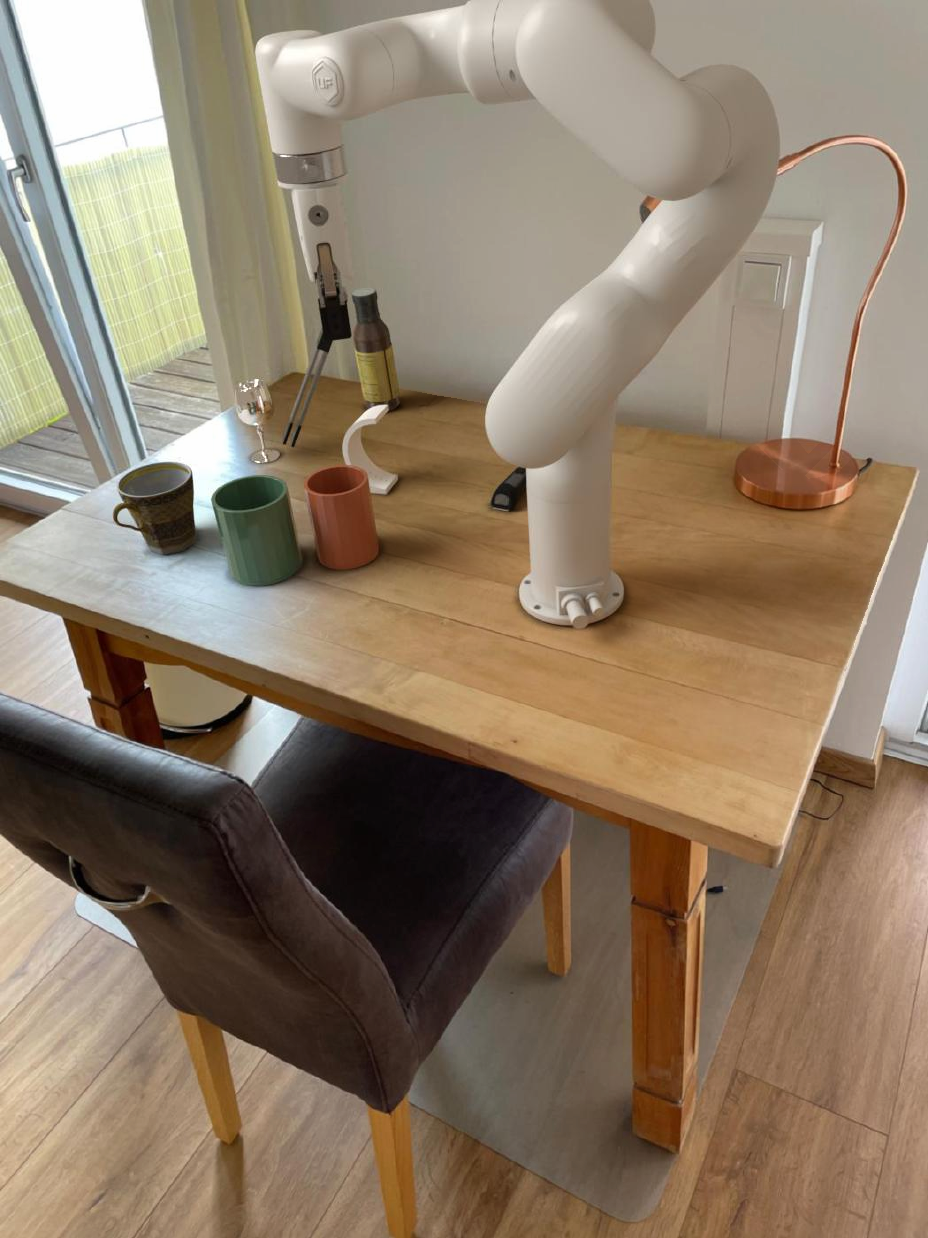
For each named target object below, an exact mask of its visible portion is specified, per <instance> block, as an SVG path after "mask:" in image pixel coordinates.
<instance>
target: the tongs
mask: <svg viewBox="0 0 928 1238" xmlns="http://www.w3.org/2000/svg"><path fill="white" fill-rule="evenodd" d="M342 288H343V295H344V302H345V303H346V302H347V303H348V301H349V300H348V298H349V295H348V289H347V287H345V286H343V285H342ZM333 342H334V341H325V340H324V335H323V329H322V328H321V329H320V331H319V334H318V337H317V340H316V343H315V346H314V349H313V352H312V355H311V356H310V357H311V358H310V360H309V363H308V365H307V369H306V371H305V374H304V377H303V379H302V383H301V386H300V388H299V391H298V393H297V396H296V399H295V402H294V405H293V408H292V410H291V413H290V416H289V418H288V420H287V421H288V422H287V423H286V427H285V430H284V432H283V435H282V445H287V443H288V439H289V438H290V434H291V432H292V429H293V427H294V430H293V433H292V434H291V435H292V436H291V438H290V447H291V448H295V446H296V443H297V441H298V438H299V435H300V432H301V431H302V426H303V423H304V421H305V418H306V415H307V413H308V410H309V407H310V404H311V401H312V398H313V397H314V393H315V390H316V388H317V385H318V382H319V380H320V377H321V374H322V371H323V368H324V366H325V363H326V361H327V358H328V355H329V353H330V351H331V347H332V345H333ZM320 351H322V354H321V356H320V359H319V362H318V364H317V367H316V369H315V373H314V376H313V379H312V381H311V384H310V386H309V389H308V392H307V395H306V398H305V400H304V403H303V406H302V408H301V411H300V414H299V417H298V419H297V422H296V423H295V426H294V422H295V420H296V417H297V414H298V411H299V409H300V406H301V403H302V400H303V397H304V394H305V392H306V390H307V386H308V383H309V381H310V378H311V375H312V372H313V371H314V370H313V369H314V367H315V364H316V362H317V359H318V356H319V353H320Z"/></svg>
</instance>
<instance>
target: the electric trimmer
mask: <svg viewBox="0 0 928 1238" xmlns="http://www.w3.org/2000/svg"><path fill="white" fill-rule="evenodd" d="M526 484H527V481H526V468H521V467H516V468H515V469H514V470H513V471H512V472H511V473H510V474H509V475H508V476H507V477H506V478H505V479H504V480H503V481H502V482H501V483H500V484H499V485H498V486H497V487H496V489H495V490H494V492H493V494H492V497H491V499H490V505H491V507H492V509H493V510H499V511H504V512H509V511H510V510H514V509H515V508H516V506H517V502H518V498H519V497H520V495H521V494H522V493H523V492H524V490H525V489H527V486H526Z"/></svg>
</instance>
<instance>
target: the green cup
mask: <svg viewBox="0 0 928 1238" xmlns="http://www.w3.org/2000/svg"><path fill="white" fill-rule="evenodd" d="M210 501H211V506H212V509H213V513H214V517H215V521H216V525H217V528H218V532H219V537H220V540H221V543H222V547H223V551H224V555H225V558H226V563H227V566H228V570H229V574H230V576H231V578H232V579H233V580H234V581H235V582H236V583H238V584H241V585H244V586H249V587H263V586H269V585H274V584H277V583H281V582H283V581H285V580H287V579H290V578H291V577H292V576H294V575H295V574H296V573H297V572H298V571H299V570H300V569H301V567H302V564H303V553H302V550H301V543H300V540H299V536H298V531H297V525H296V520H295V516H294V512H293V511H294V510H293V507H292V502H291V496H290V492H289V486H288V485H287V482H285V480H283V479H282V478H279V477H277V476H275V475H269V474H253V475H248V476H242V477H238V478H235V479H232V480H230V481H227V482H225V483H224V484H222V485H220V486H219V487H218V488H217V489H216V490H215V491H214V492H213V493H212V495H211V499H210Z"/></svg>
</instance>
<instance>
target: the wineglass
mask: <svg viewBox="0 0 928 1238" xmlns="http://www.w3.org/2000/svg"><path fill="white" fill-rule="evenodd" d="M234 403H235V410H236V413H237V416H238V418H239V420H240V421H242V422H243V424H246V425H248V426H253V427H256V432H257V434H258V436H259V439H260V442H261V448H262V449H261V450H259V451H257V452H255V453H254V454H252V457H251V460H252V461H253V462H254V463H257V464H267V463H271V462H274V461H275V460H277V459H279V457H280V455H281V454H280V451H278V450H276V449H267V447H266V444H265V440H264V439H265V438H264V427H263V425H265V424H267V423H268V422H270V420H271V419H272V418H273V416H274V414H275V413H274V412H275V403H274V399H273V396H272V393H271V391H270V389H269V387H268V385H267V383H266V381H265V380H262V379H248V380H244V381H241V382H239V383H238V384H236V385H235V387H234Z"/></svg>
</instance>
